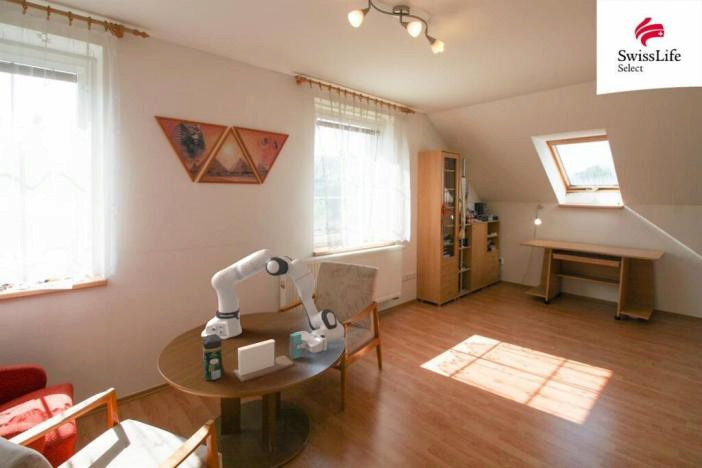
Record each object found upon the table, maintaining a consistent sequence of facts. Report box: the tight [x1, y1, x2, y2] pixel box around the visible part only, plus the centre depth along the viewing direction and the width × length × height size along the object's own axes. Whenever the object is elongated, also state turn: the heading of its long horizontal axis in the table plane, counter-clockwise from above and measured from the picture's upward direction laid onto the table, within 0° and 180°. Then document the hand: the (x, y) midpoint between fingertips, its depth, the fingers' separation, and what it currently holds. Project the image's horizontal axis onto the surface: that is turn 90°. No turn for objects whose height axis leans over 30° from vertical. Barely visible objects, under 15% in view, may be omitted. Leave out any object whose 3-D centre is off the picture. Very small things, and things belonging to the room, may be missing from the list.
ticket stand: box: [233, 338, 295, 383], centre depth 164 cm, size 26×10×13 cm, turn 128°
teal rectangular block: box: [289, 331, 302, 360], centre depth 174 cm, size 5×3×12 cm, turn 128°
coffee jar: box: [202, 334, 223, 381], centre depth 156 cm, size 10×8×19 cm
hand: (294, 345), depth 173 cm, fingers closed on teal rectangular block, 3 cm apart
